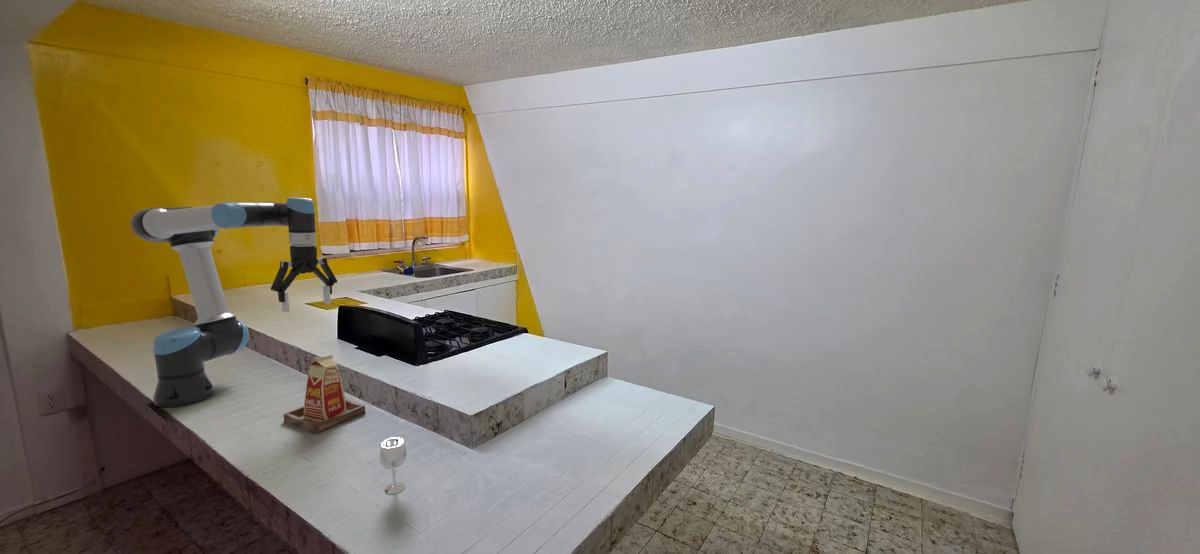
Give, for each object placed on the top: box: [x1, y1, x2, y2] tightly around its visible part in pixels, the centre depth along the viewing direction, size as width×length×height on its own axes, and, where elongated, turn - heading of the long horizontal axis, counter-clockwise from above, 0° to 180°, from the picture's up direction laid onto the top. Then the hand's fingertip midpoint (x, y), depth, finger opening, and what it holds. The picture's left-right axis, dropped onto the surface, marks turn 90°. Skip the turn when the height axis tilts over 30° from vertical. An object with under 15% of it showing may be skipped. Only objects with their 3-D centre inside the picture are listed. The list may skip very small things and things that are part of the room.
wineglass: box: [379, 437, 407, 495], centre depth 109 cm, size 6×6×12 cm
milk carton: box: [303, 354, 347, 422], centre depth 143 cm, size 9×9×20 cm
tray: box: [282, 398, 366, 435], centre depth 144 cm, size 16×16×2 cm
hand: (307, 307), depth 154 cm, fingers open, 13 cm apart
